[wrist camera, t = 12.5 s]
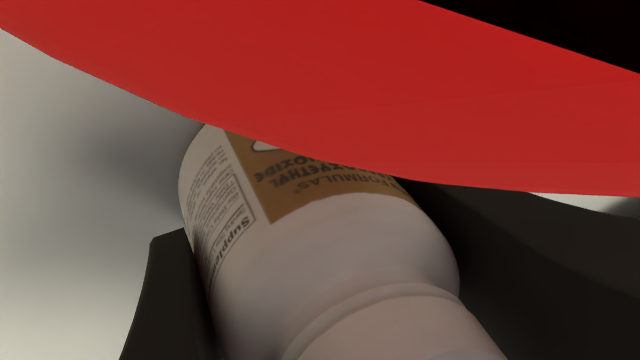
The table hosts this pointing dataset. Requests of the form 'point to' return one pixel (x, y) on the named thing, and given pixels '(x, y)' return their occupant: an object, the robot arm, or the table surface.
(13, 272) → the table surface
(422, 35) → the beverage can
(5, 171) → the table surface
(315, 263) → the pill bottle
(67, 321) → the table surface
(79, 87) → the table surface
